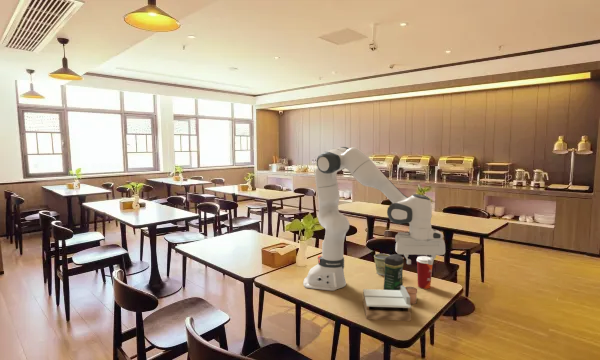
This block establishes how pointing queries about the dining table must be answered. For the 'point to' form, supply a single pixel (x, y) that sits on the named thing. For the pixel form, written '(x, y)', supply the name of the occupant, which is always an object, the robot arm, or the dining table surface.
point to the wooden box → (386, 312)
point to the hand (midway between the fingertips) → (419, 264)
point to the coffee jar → (393, 272)
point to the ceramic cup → (380, 263)
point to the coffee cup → (424, 272)
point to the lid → (387, 298)
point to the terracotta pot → (412, 294)
